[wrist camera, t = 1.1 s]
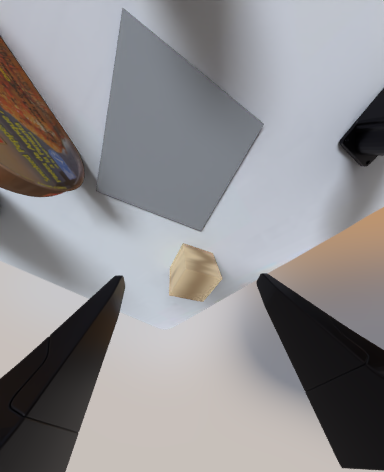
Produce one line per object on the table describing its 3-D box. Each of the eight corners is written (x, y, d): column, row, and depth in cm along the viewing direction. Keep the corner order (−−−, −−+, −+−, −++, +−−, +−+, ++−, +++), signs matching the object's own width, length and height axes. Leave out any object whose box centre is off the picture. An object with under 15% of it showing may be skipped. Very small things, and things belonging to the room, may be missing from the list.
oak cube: (212, 252, 25) (222, 278, 20) (197, 274, 28) (202, 301, 23) (183, 243, 23) (185, 268, 18) (170, 267, 26) (169, 295, 21)
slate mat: (262, 124, 16) (263, 123, 15) (200, 229, 22) (200, 231, 22) (124, 12, 11) (122, 7, 10) (97, 189, 17) (95, 190, 17)
